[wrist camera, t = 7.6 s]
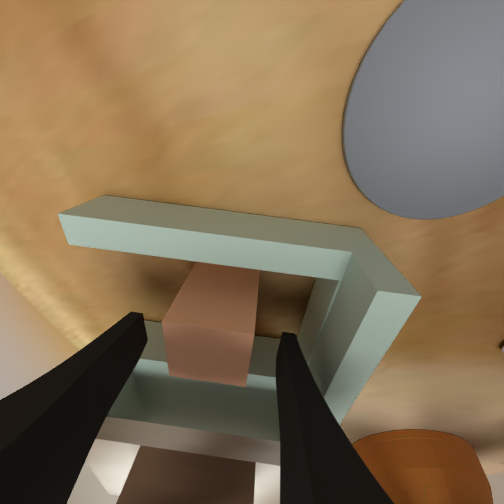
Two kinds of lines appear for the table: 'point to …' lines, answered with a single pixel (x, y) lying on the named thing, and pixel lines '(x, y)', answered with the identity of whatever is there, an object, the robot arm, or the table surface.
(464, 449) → the decorative plant
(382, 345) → the sage green u-shaped tray
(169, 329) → the block
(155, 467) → the lid
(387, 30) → the mat
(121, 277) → the table surface
